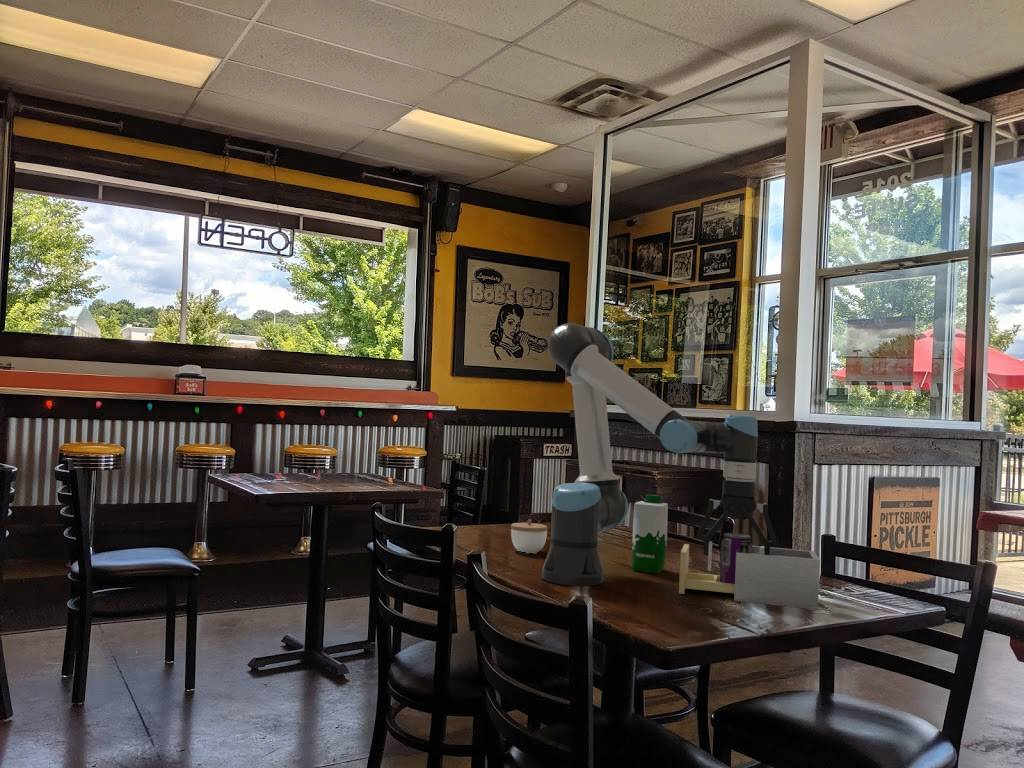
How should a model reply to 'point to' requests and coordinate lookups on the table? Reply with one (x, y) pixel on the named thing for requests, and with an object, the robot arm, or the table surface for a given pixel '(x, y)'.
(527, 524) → the lidded jar
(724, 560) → the beverage can
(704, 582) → the rack
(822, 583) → the table surface
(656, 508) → the milk carton
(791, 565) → the grey open box
